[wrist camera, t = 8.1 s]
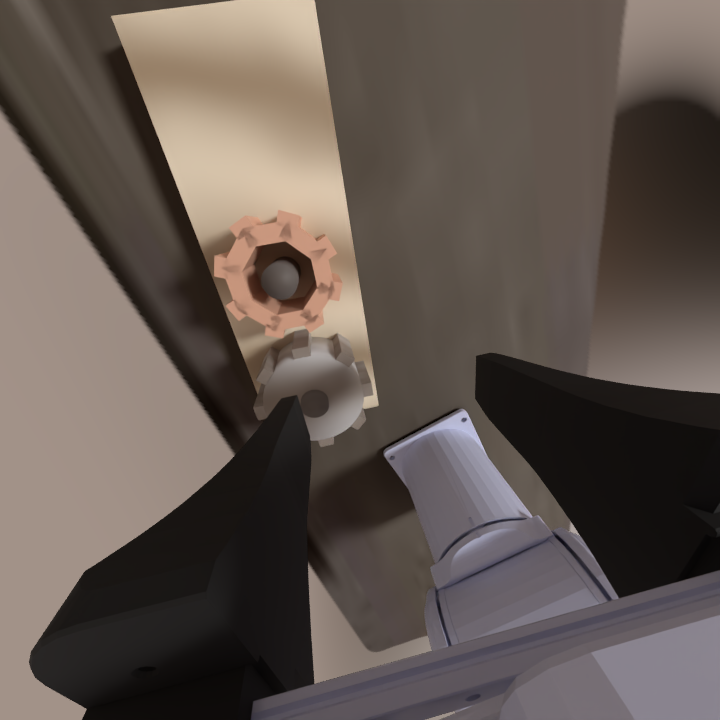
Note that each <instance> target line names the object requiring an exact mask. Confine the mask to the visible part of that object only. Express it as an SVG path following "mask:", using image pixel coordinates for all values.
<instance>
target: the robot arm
mask: <svg viewBox="0 0 720 720" xmlns="http://www.w3.org/2000/svg"><path fill="white" fill-rule="evenodd" d="M475 399H476V400H477V402H478V404H479V405H480V407H481V408H482V410H483V411H484V413H485V414H486V416H487V417H488V418H489V420H490V421H491V422H492V423H493V424H494V425H495V426H496V428H497V429H498V430H499V431H500V432H501V433H502V434H503V435H504V437H505V438H506V439H507V440H508V441H509V442H510V443H511V444H512V445H513V447H514V448H515V449H516V450H517V451H518V452H519V453H520V454H521V455H522V456H523V458H524V459H525V460H526V461H527V462H528V463H529V464H530V466H531V467H532V468H533V469H534V471H535V472H536V473H537V474H538V476H539V477H540V478H541V480H542V481H543V483H544V484H545V485H546V487H547V488H548V489H549V491H550V492H551V493H552V495H553V496H554V498H555V499H556V501H557V502H558V503H559V505H560V506H561V508H562V509H563V511H564V512H565V514H566V515H567V516H568V518H569V519H570V521H571V522H572V524H573V525H574V527H575V528H576V530H577V531H578V533H579V535H580V536H579V535H577V534H574V533H572V532H569V531H567V530H566V529H564V528H557V529H555V530H553V531H550V529H549V528H548V527H547V526H546V524H545V523H544V522H543V520H542V519H541V518H540V517H539V516H534V517H532V515H531V514H530V513H529V511H528V510H527V509H526V507H525V506H524V505H523V503H522V502H521V501H520V499H519V498H518V497H517V495H516V494H515V493H514V491H513V490H512V489H511V487H510V486H509V485H508V483H507V482H506V481H505V479H504V478H503V477H502V475H501V474H500V473H499V471H498V470H497V469H496V468H495V466H494V465H493V464H492V462H491V461H490V460H489V458H488V457H487V454H486V452H485V450H484V448H483V446H482V444H481V441H480V439H479V437H478V435H477V433H476V431H475V429H474V426H473V424H472V422H471V420H470V418H469V416H468V414H467V412H466V411H465V410H464V409H459V410H457V411H455V412H453V413H451V414H450V415H448V416H446V417H444V418H442V419H440V420H438V421H436V422H435V423H433V424H431V425H429V426H427V427H425V428H423V429H421V430H420V431H418V432H416V433H414V434H412V435H410V436H408V437H406V438H405V439H403V440H401V441H399V442H397V443H395V444H393V445H391V446H390V447H388V448H386V449H385V450H384V452H383V453H384V456H385V458H386V459H387V461H388V462H389V463H390V465H391V466H392V468H393V469H394V470H395V472H396V473H397V474H398V476H399V477H400V478H401V480H402V481H403V483H404V484H405V485H406V487H407V488H408V489H409V492H410V495H411V497H412V500H413V503H414V506H415V508H416V511H417V514H418V517H419V520H420V522H421V525H422V528H423V531H424V533H425V536H426V539H427V542H428V545H429V547H430V550H431V553H432V556H433V558H434V561H435V565H433V566H431V567H430V570H431V573H432V576H433V579H434V582H435V585H436V586H435V587H433V588H431V589H429V590H428V592H427V599H426V600H427V601H426V605H425V622H426V628H427V633H428V637H429V641H430V645H431V649H432V651H430V652H426V653H423V654H419V655H416V656H412V657H409V658H405V659H402V660H398V661H394V662H391V663H387V664H384V665H380V666H377V667H373V668H370V669H366V670H363V671H359V672H355V673H352V674H348V675H345V676H341V677H337V678H334V679H330V680H327V681H323V682H320V683H316V684H314V671H313V656H312V641H311V625H310V604H309V585H308V554H307V513H308V499H309V486H310V472H311V443H310V434H309V431H308V428H307V425H306V421H305V418H304V415H303V412H302V409H301V406H300V402H299V399H298V396H297V395H294V396H289V397H285V398H281V399H280V401H279V402H278V403H277V404H276V406H275V407H274V409H273V410H272V411H271V413H270V414H269V415H268V417H267V418H266V419H265V421H264V422H263V423H262V424H261V426H260V427H259V428H258V430H257V431H256V432H255V433H254V434H253V436H252V437H251V438H250V439H249V440H248V441H247V443H246V444H245V445H244V446H243V447H242V448H241V450H240V451H239V452H238V453H237V454H236V455H235V456H234V457H233V458H232V459H231V460H230V462H228V463H227V464H226V465H225V466H224V467H223V468H222V469H221V470H220V471H219V472H218V473H217V474H216V475H215V476H214V477H213V478H212V479H211V480H209V481H208V482H207V483H206V484H205V485H204V486H203V487H201V488H200V489H199V490H198V491H197V492H195V493H194V494H193V495H192V496H191V497H190V498H189V499H187V500H186V501H185V502H184V503H183V504H181V505H180V506H179V507H178V508H176V509H175V510H173V511H172V512H171V513H170V514H168V515H167V516H166V517H164V518H163V519H162V520H160V521H159V522H157V523H156V524H155V525H153V526H152V527H151V528H149V529H148V530H147V531H145V532H144V533H142V534H141V535H139V536H138V537H137V538H135V539H133V540H132V541H130V542H129V543H127V544H126V545H125V546H123V547H121V548H120V549H119V550H117V551H115V552H114V553H112V554H111V555H109V556H108V557H106V558H105V559H103V560H102V561H100V562H99V563H97V564H96V565H94V566H93V567H91V568H89V569H88V570H86V571H85V572H84V573H83V575H82V576H81V578H80V579H79V581H78V582H77V584H76V585H75V587H74V588H73V590H72V591H71V593H70V594H69V596H68V597H67V599H66V600H65V602H64V603H63V605H62V606H61V608H60V610H59V611H58V612H57V614H56V615H55V617H54V618H53V620H52V621H51V623H50V624H49V626H48V627H47V629H46V630H45V632H44V633H43V635H42V636H41V638H40V639H39V641H38V642H37V644H36V645H35V647H34V648H33V650H32V651H31V655H30V660H29V663H30V667H31V670H32V672H33V674H34V676H35V678H37V679H38V680H39V681H40V682H42V683H43V684H44V685H45V686H47V687H49V688H51V689H53V690H54V691H56V692H58V693H60V694H61V695H63V696H65V697H67V698H68V699H70V700H72V701H74V702H76V703H78V704H79V705H81V706H83V707H84V708H86V709H87V710H86V712H85V714H84V717H83V719H82V720H425V719H429V718H432V717H435V716H439V715H442V714H445V713H449V712H452V711H455V714H452V715H450V716H447V717H445V718H443V719H440V720H720V394H717V393H702V392H689V391H678V390H668V389H660V388H652V387H643V386H636V385H628V384H622V383H616V382H611V381H605V380H600V379H594V378H589V377H585V376H580V375H576V374H572V373H568V372H563V371H559V370H556V369H552V368H548V367H544V366H541V365H537V364H534V363H530V362H527V361H523V360H519V359H516V358H512V357H509V356H505V355H501V354H496V353H487V354H482V355H478V356H476V387H475ZM463 418H464V419H463ZM391 456H393V457H391Z"/></svg>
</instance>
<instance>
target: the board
mask: <svg viewBox="0 0 720 720" xmlns="http://www.w3.org/2000/svg"><path fill="white" fill-rule="evenodd" d="M111 17H112V19H113V22H114V24H115V27H116V30H117V32H118V35H119V37H120V40H121V42H122V45H123V48H124V50H125V53H126V55H127V58H128V61H129V63H130V66H131V68H132V71H133V73H134V76H135V79H136V81H137V84H138V86H139V89H140V92H141V94H142V97H143V99H144V102H145V104H146V107H147V110H148V112H149V115H150V117H151V120H152V123H153V125H154V128H155V130H156V133H157V135H158V138H159V141H160V143H161V146H162V148H163V151H164V154H165V156H166V159H167V161H168V164H169V166H170V169H171V172H172V174H173V177H174V179H175V182H176V185H177V187H178V190H179V192H180V195H181V197H182V200H183V203H184V205H185V208H186V210H187V213H188V216H189V218H190V221H191V223H192V226H193V228H194V231H195V234H196V236H197V239H198V241H199V244H200V247H201V249H202V252H203V254H204V257H205V259H206V262H207V265H208V267H209V270H210V272H211V275H212V278H213V280H214V283H215V285H216V288H217V290H218V293H219V296H220V298H221V301H222V303H223V306H224V309H225V311H226V314H227V316H228V319H229V321H230V324H231V327H232V329H233V332H234V334H235V337H236V340H237V342H238V345H239V347H240V350H241V352H242V355H243V358H244V360H245V363H246V365H247V368H248V371H249V373H250V376H251V378H252V381H253V383H254V386H255V389H256V391H257V394H258V395H257V398H256V401H255V404H254V407H253V409H254V412H255V414H256V416H257V419H258V420H263V419H266V418H267V417H268V415H269V414H270V413H271V411H272V410H273V409H274V407H275V406H276V404H277V403H278V402H279V401H280V399H281V398H285V397H289V396H294V395H297V396H298V399H299V402H300V406H301V409H302V412H303V415H304V418H305V421H306V425H307V428H308V431H309V434H310V440H318V441H319V445H320V447H323V446H327V445H332V444H334V437H333V436H336V435H338V434H340V433H342V432H343V431H345V430H346V429H348V428H349V427H350V426H351V427H353V428H355V429H357V430H358V429H359V428H360V427H361V425H362V424H363V423H364V422H365V421H366V417H365V413H364V409H366V408H371V407H375V406H379V405H378V399H377V392H376V386H375V380H374V373H373V367H372V361H371V354H370V348H369V342H368V336H367V329H366V323H365V317H364V310H363V304H362V298H361V291H360V285H359V279H358V272H357V266H356V260H355V253H354V247H353V241H352V234H351V228H350V222H349V215H348V209H347V203H346V196H345V190H344V184H343V177H342V171H341V165H340V158H339V152H338V146H337V139H336V133H335V127H334V120H333V114H332V108H331V102H330V95H329V89H328V83H327V76H326V70H325V64H324V57H323V51H322V45H321V38H320V32H319V26H318V19H317V13H316V7H315V0H235V1H227V2H219V3H211V4H203V5H195V6H187V7H179V8H171V9H164V10H156V11H148V12H140V13H132V14H124V15H116V16H111ZM278 210H281V211H285V212H289V213H293V214H296V215H300V216H301V217H302V221H301V228H302V229H304V230H305V231H306V232H308V233H309V234H310V235H312V236H313V237H314V238H316V239H318V238H319V237H321V236H322V235H324V234H325V235H326V236H327V238H328V239H329V241H330V242H331V244H332V246H333V247H334V249H335V251H336V252H337V254H336V255H334V256H333V257H332V258H330V259H329V264H330V269H331V273H335V274H338V275H339V277H340V279H341V281H342V283H343V285H342V290H341V295H340V300H339V301H335V300H330V299H329V301H328V302H327V304H326V305H325V307H324V308H323V318H324V324H323V325H321V326H320V327H318V328H317V329H315V330H314V331H312V332H310V333H309V331H308V330H307V329H306V328H305V326H299V327H294V328H289V329H286V330H285V333H284V337H283V338H278V337H271V336H265V330H266V326H264V325H262V324H261V323H259V322H257V321H255V320H254V319H252V318H250V317H248V316H245V317H244V318H242V319H241V320H240V321H238V320H237V319H236V317H235V316H234V315H233V314H232V313H231V312H230V311H229V310H228V308H227V307H226V305H227V304H228V303H229V302H230V301H232V300H233V298H232V295H231V292H230V289H229V287H228V284H227V281H226V279H224V278H219V277H214V257H215V256H216V255H219V254H223V253H226V252H229V251H230V250H231V249H232V247H233V245H234V243H235V241H236V239H237V238H236V236H235V235H234V234H233V233H232V231H231V230H230V229H229V227H230V226H232V225H233V224H234V223H236V222H237V221H238V220H240V219H241V218H243V217H244V216H245V215H246V216H252V217H258V218H259V219H260V221H261V222H262V224H269V223H274V222H277V215H278ZM254 265H255V268H256V271H257V274H258V277H259V280H260V284H261V287H262V288H263V289H264V291H265V292H266V293H267V294H268V295H269V296H271V297H272V298H275V299H279V300H282V301H284V300H290V299H295V298H300V297H305V296H306V294H307V292H308V291H309V289H310V288H311V286H312V284H313V283H314V281H315V280H316V279H315V275H314V270H313V266H312V261H311V259H310V258H309V257H307V256H306V255H304V254H303V253H302V252H300V251H299V250H297V249H296V248H294V247H293V246H292V245H290V244H289V243H287V242H286V241H284V242H278V243H272V244H267V245H265V246H264V248H263V250H262V251H261V253H260V255H259V257H258V259H257V260H256V262H255V264H254Z"/></svg>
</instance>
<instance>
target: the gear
mask: <svg viewBox="0 0 720 720" xmlns="http://www.w3.org/2000/svg"><path fill="white" fill-rule="evenodd" d="M301 221H302V217H301V216H300V215H296V214H293V213H289V212H285V211H281V210H278V215H277V222H274V223H269V224H262V222H261V221H260V219H259V218H258V217H252V216H246V215H245V216H244V217H243V218H241V219H240V220H238V221H237V222H236V223H234V224H233V225H232V226H230V227H229V229H230V230H231V231H232V233H233V234H234V235H235V236H236V238H237V239H236V241H235V243H234V245H233V247H232V249H231V250H230V251H229V252H226V253H223V254H219V255H216V256H215V257H214V277H219V278H224V279H226V281H227V284H228V287H229V289H230V292H231V295H232V298H233V300H232V301H230V302H229V303H228V304H227V305H226V307H227V308H228V310H229V311H230V312H231V313H232V314H233V315H234V316H235V317H236V319H237V320H238V321H240V320H241V319H242V318H244V317H245V316H248V317H250V318H252V319H254V320H255V321H257V322H259V323H261V324H262V325H264V326H266V330H265V336H271V337H278V338H283V337H284V333H285V330H286V329H289V328H294V327H299V326H305V328H306V329H307V330H308V331H309V333H310V332H312V331H314V330H315V329H317V328H318V327H320V326H321V325H323V324H324V318H323V308H324V307H325V305H326V304H327V302H328V301H329V299H330V300H335V301H339V300H340V295H341V290H342V285H343V283H342V281H341V279H340V277H339V275H338V274H335V273H331V269H330V264H329V259H330V258H332V257H333V256H334V255H336V254H337V252H336V251H335V249H334V247H333V246H332V244H331V242H330V241H329V239H328V238H327V236H326V235H325V234H324V235H322V236H321V237H319V238H318V239H316V238H314V237H313V236H312V235H310V234H309V233H308V232H306V231H305V230H304V229H302V228H301ZM284 241H286V242H287V243H289V244H290V245H292V246H293V247H294V248H296V249H297V250H299V251H300V252H302V253H303V254H304V255H306V256H307V257H309V258H310V259H311V261H312V266H313V270H314V275H315V279H316V280H315V281H314V283H313V284H312V286H311V288H310V289H309V291H308V292H307V294H306V296H305V297H300V298H295V299H290V300H284V301H282V300H279V299H275V298H272V297H271V296H269V295H268V294H267V293H266V292H265V291H264V289H263V288H262V287H261V284H260V280H259V277H258V274H257V271H256V268H255V265H254V264H255V262H256V260H257V259H258V257H259V255H260V253H261V251H262V250H263V248H264V246H265V245H267V244H272V243H278V242H284Z"/></svg>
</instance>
